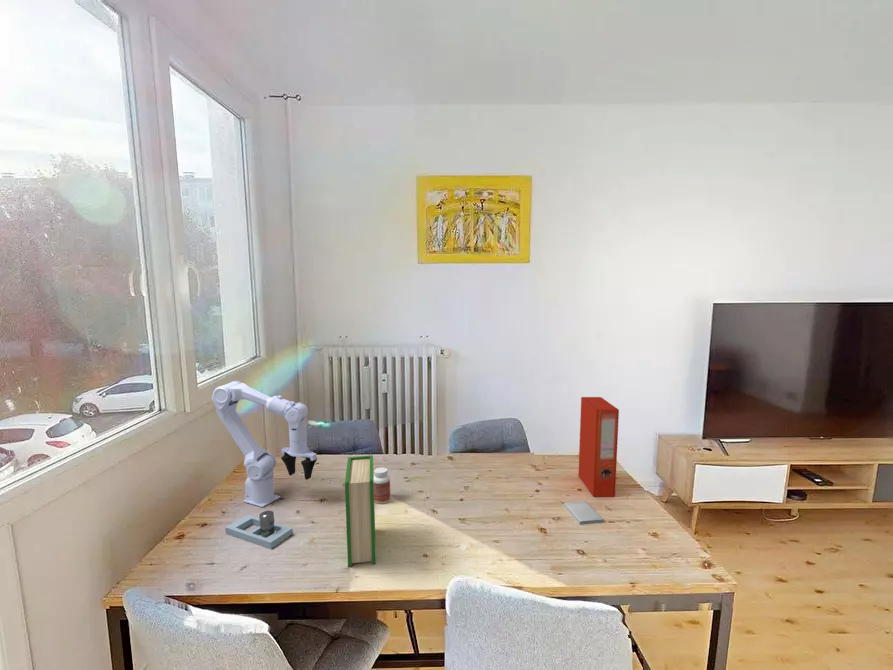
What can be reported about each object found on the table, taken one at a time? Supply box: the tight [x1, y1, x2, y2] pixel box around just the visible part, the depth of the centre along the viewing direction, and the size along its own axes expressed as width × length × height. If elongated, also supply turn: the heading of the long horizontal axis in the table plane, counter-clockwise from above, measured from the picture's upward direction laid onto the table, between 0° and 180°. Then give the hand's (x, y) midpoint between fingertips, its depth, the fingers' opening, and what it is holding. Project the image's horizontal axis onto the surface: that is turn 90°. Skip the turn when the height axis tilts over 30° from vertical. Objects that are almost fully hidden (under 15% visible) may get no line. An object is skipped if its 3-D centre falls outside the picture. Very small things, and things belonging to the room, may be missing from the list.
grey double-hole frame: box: [225, 514, 294, 550], centre depth 136 cm, size 19×8×2 cm, turn 64°
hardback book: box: [344, 454, 377, 568], centre depth 127 cm, size 18×7×24 cm, turn 10°
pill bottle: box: [373, 467, 391, 505], centre depth 156 cm, size 6×6×11 cm
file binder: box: [578, 396, 620, 498], centre depth 164 cm, size 8×17×32 cm, turn 1°
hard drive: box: [562, 500, 605, 526], centre depth 146 cm, size 2×8×12 cm
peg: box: [258, 510, 275, 538], centre depth 134 cm, size 4×4×7 cm
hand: (300, 476), depth 155 cm, fingers open, 7 cm apart
